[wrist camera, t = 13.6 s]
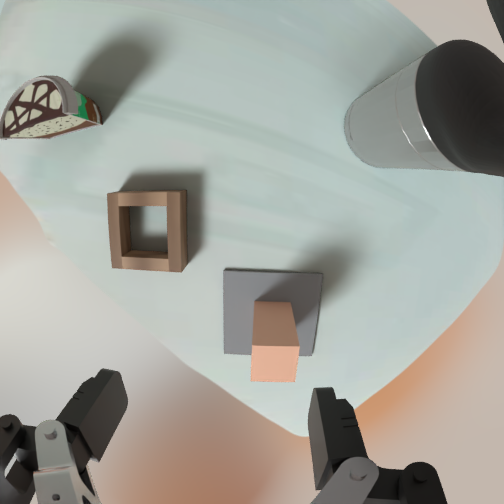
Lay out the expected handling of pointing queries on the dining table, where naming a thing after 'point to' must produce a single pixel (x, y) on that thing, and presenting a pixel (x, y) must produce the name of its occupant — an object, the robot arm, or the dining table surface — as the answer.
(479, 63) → the robot arm
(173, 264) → the walnut pocket
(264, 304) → the terracotta block
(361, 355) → the dining table surface
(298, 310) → the rubber mat
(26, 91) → the food container
